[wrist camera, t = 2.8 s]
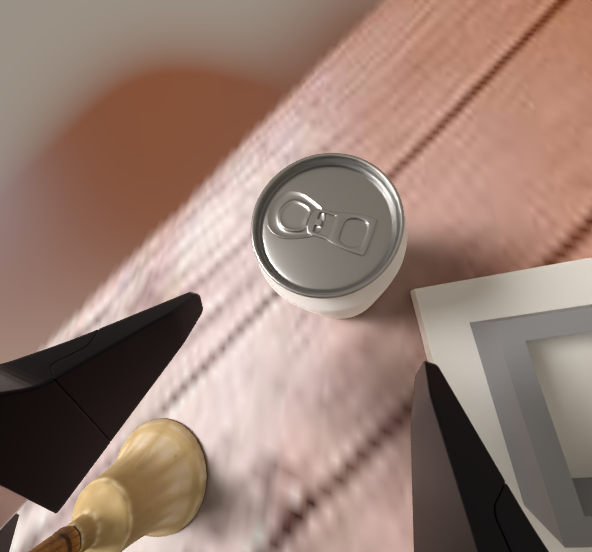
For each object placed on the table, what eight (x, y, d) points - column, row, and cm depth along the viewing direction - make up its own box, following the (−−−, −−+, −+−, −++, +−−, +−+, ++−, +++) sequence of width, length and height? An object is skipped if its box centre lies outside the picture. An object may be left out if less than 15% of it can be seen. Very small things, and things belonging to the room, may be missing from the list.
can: (315, 231, 22) (275, 128, 11) (392, 253, 21) (443, 161, 9) (288, 302, 22) (214, 276, 10) (365, 331, 20) (382, 340, 8)
